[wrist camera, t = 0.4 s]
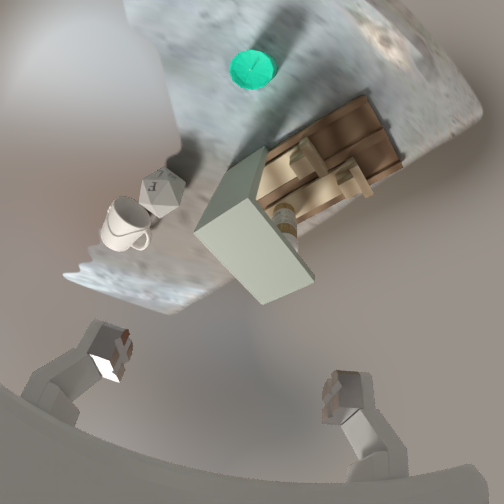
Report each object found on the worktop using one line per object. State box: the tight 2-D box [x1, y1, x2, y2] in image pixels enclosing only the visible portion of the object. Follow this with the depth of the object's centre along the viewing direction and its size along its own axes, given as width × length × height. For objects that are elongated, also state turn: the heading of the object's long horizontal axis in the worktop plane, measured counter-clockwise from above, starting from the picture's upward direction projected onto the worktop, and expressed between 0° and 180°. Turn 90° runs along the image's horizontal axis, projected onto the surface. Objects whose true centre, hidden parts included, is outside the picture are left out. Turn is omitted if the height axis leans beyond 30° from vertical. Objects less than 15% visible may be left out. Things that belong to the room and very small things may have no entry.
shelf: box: [193, 145, 315, 305], centre depth 48 cm, size 9×15×22 cm, turn 37°
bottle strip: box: [264, 157, 373, 220], centre depth 51 cm, size 20×6×6 cm, turn 127°
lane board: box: [257, 95, 403, 225], centre depth 51 cm, size 29×15×2 cm, turn 127°
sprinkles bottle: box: [272, 203, 298, 253], centre depth 51 cm, size 5×5×14 cm
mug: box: [101, 196, 152, 251], centre depth 61 cm, size 12×9×8 cm
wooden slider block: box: [256, 137, 329, 201], centre depth 49 cm, size 15×6×6 cm, turn 127°
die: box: [138, 166, 186, 218], centre depth 54 cm, size 8×9×10 cm
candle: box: [229, 50, 277, 90], centre depth 38 cm, size 6×6×12 cm
